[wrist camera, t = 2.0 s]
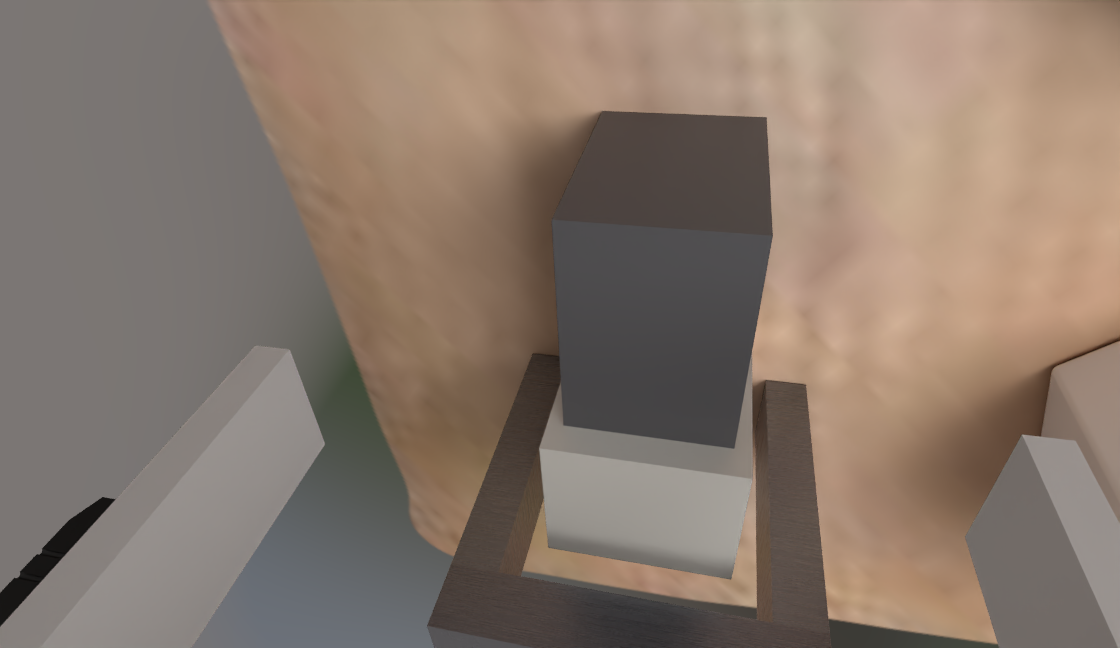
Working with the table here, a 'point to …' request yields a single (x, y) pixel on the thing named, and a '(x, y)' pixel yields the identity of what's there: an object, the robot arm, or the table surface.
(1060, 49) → the table surface
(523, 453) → the frame
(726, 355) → the plug
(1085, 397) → the jar
